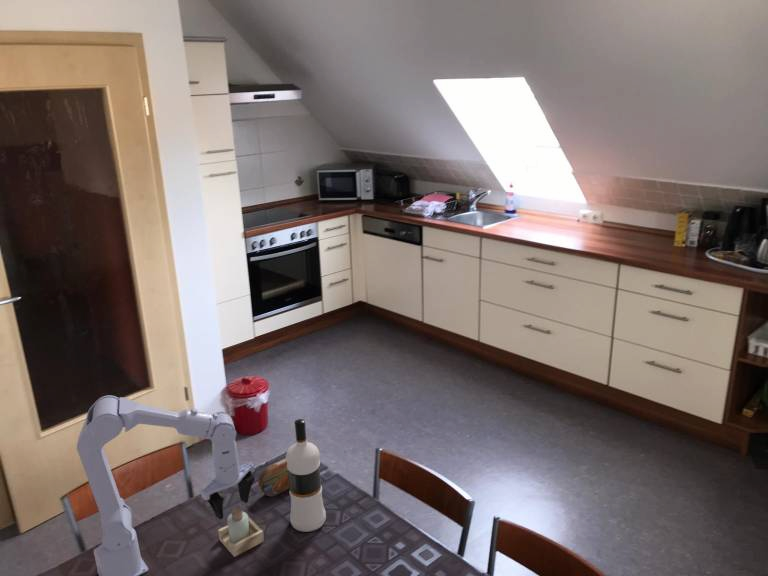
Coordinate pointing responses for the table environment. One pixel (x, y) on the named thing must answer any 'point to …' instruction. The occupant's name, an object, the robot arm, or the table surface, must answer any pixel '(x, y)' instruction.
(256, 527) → the wooden box
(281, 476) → the tin
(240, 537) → the bottle
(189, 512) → the table surface
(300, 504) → the vodka
